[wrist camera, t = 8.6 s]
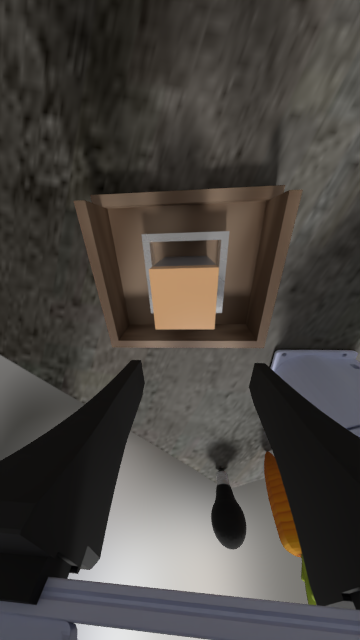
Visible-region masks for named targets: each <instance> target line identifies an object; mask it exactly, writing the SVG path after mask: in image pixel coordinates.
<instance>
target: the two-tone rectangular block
mask: <svg viewBox="0 0 360 640" xmlns="http://www.w3.org/2000/svg"><path fill="white" fill-rule="evenodd" d="M218 274H219V267H218V266H217V265H216V264H215V263H214V262H213V261H212V260H211V259H210V258H209V257H208V256H177V257H164V258H163V259H161V260H160V261H159V262H158V263H156V264H155V265H154V266H152V267H151V268H150V269H149V276H150V285H151V294H152V303H153V311H154V320H155V329H215V315H216V302H217V288H218Z"/></svg>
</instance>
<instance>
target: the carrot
mask: <svg viewBox="0 0 360 640" xmlns="http://www.w3.org/2000/svg"><path fill="white" fill-rule="evenodd" d="M264 473H265V480H266V486H267V492H268V497H269V501H270V505H271V509H272V513H273V517H274V520H275V524H276V527H277V531H278V534H279V538H280V540H281V543H282V545H283V547H284V548H285V549H286V550H287V551H288V552H289V553H291V554H293V555H295V556H297V557H301V558H302V574H301V579H302V580H303V581H304V582H305V587H306V594H307V599H308V604H309V605H316V601H315V599H314V596H313V593H312V590H311V587H310V584H309V580H308V576H307V571H306V567H305V563H304V559H303V555H302V551H301V547H300V543H299V539H298V535H297V531H296V528H295V524H294V520H293V517H292V513H291V509H290V506H289V502H288V499H287V495H286V492H285V488H284V485H283V482H282V478H281V475H280V472H279V469H278V465H277V462H276V459H275V457H274V456H273V455H272V454H271V453H270V452H268V451H267V452H266V454H265V461H264Z"/></svg>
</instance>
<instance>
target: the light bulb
mask: <svg viewBox="0 0 360 640" xmlns="http://www.w3.org/2000/svg"><path fill="white" fill-rule="evenodd" d="M216 479H217V489H216V500H215V503H214V505H213V508H212V513H211V519H212V526H213V530H214V533H215V535H216V537H217V539H218V540H219V541H220V542H221V544H222V545H223V546H225V547H227V548H229V549H237V548H238V547H240V546H241V545H242V543H243V541H244V539H245V535H246V522H245V517H244V514H243V511H242V509H241V507H240V506H239V504H238V503H237V502H236V500H235V498H234V495H233V492H232V489H231V487H230V484H229V479H228V475H227V473H226V472H225V471H224V470H222V469H220V470H219V471H218V472H217V474H216Z"/></svg>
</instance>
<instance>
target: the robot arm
mask: <svg viewBox="0 0 360 640" xmlns="http://www.w3.org/2000/svg"><path fill="white" fill-rule="evenodd" d="M283 353H285V354H283ZM357 355H358V353H357V352H356V351H354V350H277V351H276V352H275V354H274V357H273V361H272V364H271V368H270V367H268V366H267V365H266V364H265V363H255V364H254V368H253V372H252V377H251V381H250V385H249V388H250V392H251V396H252V399H253V403H254V406H255V408H256V411H257V413H258V415H259V418H260V420H261V423H262V425H263V428H264V430H265V433H266V435H267V437H268V440H269V442H270V445H271V448H272V450H273V453H274V456H275V459H276V462H277V465H278V469H279V472H280V475H281V478H282V482H283V485H284V488H285V492H286V495H287V499H288V502H289V506H290V509H291V513H292V517H293V520H294V524H295V528H296V531H297V535H298V539H299V543H300V547H301V551H302V555H303V559H304V563H305V567H306V571H307V576H308V580H309V584H310V587H311V590H312V593H313V596H314V599H315V601H316V604H317V605H307V604H299V603H289V602H279V601H270V600H261V599H251V598H242V597H232V596H222V595H214V594H205V593H195V592H186V591H177V590H167V589H158V588H148V587H139V586H129V585H119V584H111V583H101V582H92V581H83V580H72V579H67V577H68V575H69V573H76V574H78V572H79V570H80V569H87V570H90V569H91V568H92V567H93V566H94V565H95V564H96V563H97V561H98V560H99V559H100V556H101V550H102V545H103V541H104V536H105V530H106V526H107V521H108V516H109V512H110V507H111V503H112V498H113V494H114V489H115V485H116V481H117V477H118V473H119V468H120V464H121V461H122V457H123V453H124V449H125V445H126V442H127V438H128V435H129V433H130V430H131V427H132V424H133V421H134V418H135V415H136V412H137V410H138V407H139V404H140V401H141V397H142V393H143V388H144V384H145V383H144V376H143V370H142V363H141V360H131V361H130V362H129V363H128V364H127V365H126V366H125V368H124V369H123V370H122V371H121V372H120V373H119V374H118V375H117V376H116V377H115V378H114V379H113V380H112V381H111V382H110V383H109V384H108V385H107V386H105V387H104V388H103V389H102V390H101V391H100V392H99V393H98V394H97V395H96V396H94V397H93V398H92V399H91V400H90V401H89V402H87V403H86V404H85V405H84V406H83V407H81V408H80V409H79V410H78V411H76V412H75V413H74V414H72V415H71V416H70V417H68V418H67V419H66V420H64V421H63V422H61V423H60V424H58V425H57V426H55V427H54V428H53V429H51V430H50V431H48V432H47V433H45V434H44V435H42V436H41V437H39V438H38V439H36V440H34V441H33V442H31V443H30V444H28V445H26V446H25V447H23V448H22V449H20V450H18V451H17V452H15V453H13V454H12V455H10V456H8V457H6V458H5V459H3V460H1V461H0V640H77V628H76V625H75V624H74V623H79V624H87V625H95V626H103V627H112V628H120V629H128V630H136V631H144V632H152V633H160V634H168V635H177V636H185V637H193V638H201V639H210V640H360V362H358V361H357V360H356V357H357Z"/></svg>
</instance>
